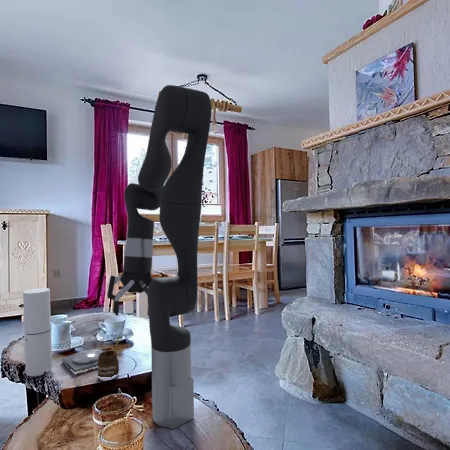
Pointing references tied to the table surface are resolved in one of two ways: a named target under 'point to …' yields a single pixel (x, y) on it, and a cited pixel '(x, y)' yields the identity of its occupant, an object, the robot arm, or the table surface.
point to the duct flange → (83, 359)
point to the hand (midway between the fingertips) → (133, 315)
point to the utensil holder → (108, 362)
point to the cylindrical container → (37, 331)
